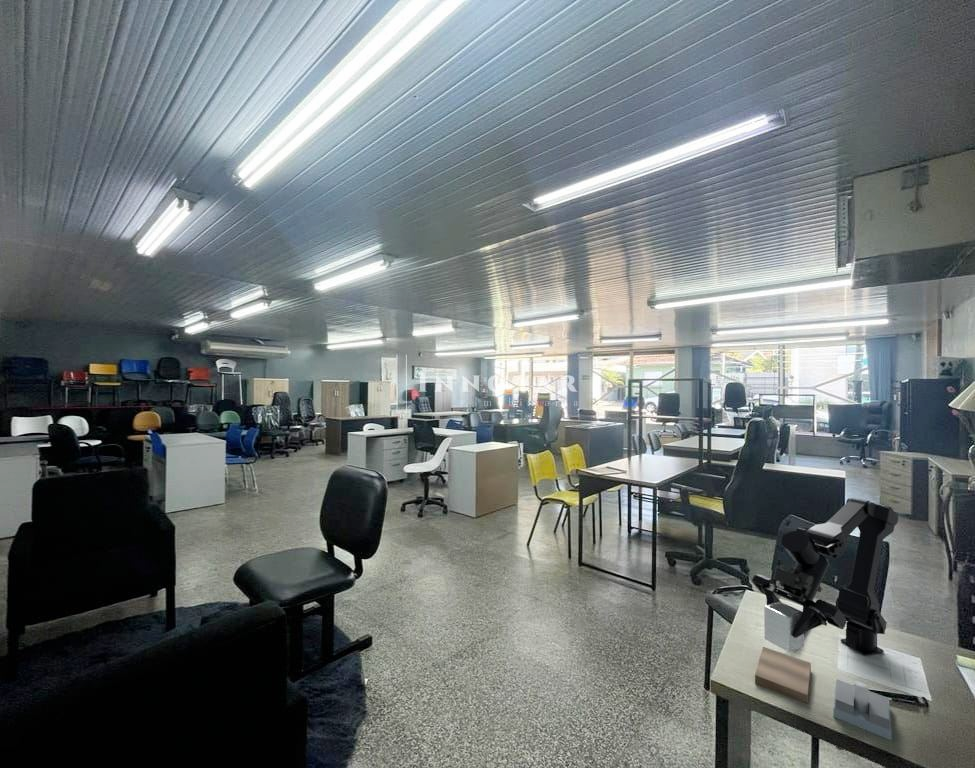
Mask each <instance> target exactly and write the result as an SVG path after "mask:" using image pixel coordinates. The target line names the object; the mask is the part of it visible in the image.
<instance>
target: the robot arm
mask: <svg viewBox="0 0 975 768" xmlns="http://www.w3.org/2000/svg"><path fill="white" fill-rule="evenodd" d="M898 523H899V515H898V513H897V512H896V511H895V510H894V508H893V507H891V506H886V505H883V504H882V505H881V504H876V503H875V502H871V501H870V500H867V499H863V498H859V497H858V498H857V497H849V498H847V499H846V502H845V504H844V505H843V506H842V507H841V508H840V509H839V510H838V511H837V512H836V513H835V514H834V515H833V516H832V517H831V518H830V519H829V520H827V521H826V522H825V523H818V524H815V525H813V526H811V527H810V528H808V529H807V530H806V529H804V528H800V527H797V528H796V530H794V531H793V530H792V531H789V532H787V533H785V534H784V535H782V537H781V544H782V546H783V548H784V550H785V551H786V552H787V553H788V555H789V556H790V557H791V558H792V560H793V561H794V562H795V563H796V564H795V566H794V567H793V568H792V567H789V568H788V570H786V569H783V568H782V567H781V568H780V567H778V566H775V570H774V573H773V575H772V576H773V578H770V577H768V576H765V575H762V574H760V573H755V574H754V575H753V576H752V578H751V580H750V582H751V583H752V584H753V585H754V586H755V588H756V589H757V590H758V591H759V592H760V593H761V594H763V595H765V597H766V605H769V604H772V603H775V602H778V601H780V602H782V601H781V600H780V598H781V597H782V598H784V599H786V600H789V601H791V602H793V603H795V604H798V606H799V605H800V606H801V607H802V612H803V613H802V616H801V617H800V619H799V621H798V623H797V625H796V627H795V628H794V631H793V634H792V636H793V637H794V638H797V637H799V636H800V635H802V634H804V635H805V633H808V632H809V631H811V630H812V629H815V628H817V627H818V628H819V627H820V626H824V627H825V626H828V624H829V625H831V626H833V627H836V628H837V629H841V630H844V629H845V638H841V639H840V642H841V643H843V644H844V645H846V646H848V647H850V648H851V649H853V650H855V651H857V652H858V653H860V654H862V655H863V656H872V655H876V654H882V653H884V649H882V648H881V647H879V646H878V635H879V634H880V635H885V634H886V629H887V621H886V620H885V618H884V616H882V614H881V612H880V602H879V600H878V599H877V597H876V594H875V585H876V580H877V574H878V570H879V563H880V559H881V553H882V547H883V542H884V540H885V539H886V538H887V537H888V536H890V535H891V534H892V533H893V532H894V530H895V527H896V525H897V524H898ZM855 529H858V530H859V537H858V541H857V546H856V553H855V557H854V563H853V566H852V572H851V578H850V582H849V584H848V585H846V586H844V587H843V586H842V587H840V588H839V590H838V595H837V598H836V600H835V605H834V604H832V603H830V602H828V601H825V600H823V599H821V598H819V599H817V600H816V601H814V598H815V597H816V594H817V593H818V592H819V593H822V589H823V588H822V587H821V584H822V582H823V580H824V577H825V576H826V573H827V572H830V573H831V572H832V570H833V569H832V566H831V564H830V560H829V559H827V558H826V557H825V556H828V557H831V558H834V559H838V558H839V557H841V556H842V555H843V554H844V553H845V550H846V548H847V543H846V540H847V538H848V537H849V536H850V535H851V533H853V532H854V530H855ZM774 581H777V582H779V585H780V586H781V587H779V586H778V585H777V584H776V583H775V582H774ZM782 587H783V588H782ZM845 627H846V628H845Z"/></svg>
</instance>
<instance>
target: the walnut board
mask: <svg viewBox="0 0 975 768" xmlns="http://www.w3.org/2000/svg"><path fill="white" fill-rule="evenodd" d="M811 664H812V663H811V662H809V661H807V660H804V659H801V658H798V657H796V656H792V655H790V654H786V653H783V652H780V651H777V650H773V649H771V648H768V647H765V646H762V650H761V653H760V657H759V660H758V663H757V666H756V671H755V674H754V684H756V685H759V686H760V687H764V688H766V689H769V690H770V691H774V692H776V693H779V694H782V695H784V696H786V697H789V698H791V699H794V700H797V701H800V702H803V703H805V704H808V703H809V701H808V700H809V692H810V681H811V671H812V670H811V669H812V665H811Z"/></svg>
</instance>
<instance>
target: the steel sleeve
mask: <svg viewBox="0 0 975 768" xmlns="http://www.w3.org/2000/svg"><path fill="white" fill-rule="evenodd" d="M780 601H781V600H780ZM780 601H778V602H775V603H772V604H769V605H767V604H766V605H764V606H763V609H764V611H763V612H764V640H765V641H768V642H770V643H771V644H773V645H775V646H777V647H778V648H780V649H782V650H784V651H786V652H787V653H792V652H794V651H795V650H799V649H801V648H803V647H805V633H804V634H802V635H800V636H799V637H797V638H794V637H793V636H792V634H793V631H794V628H795V627H796V625H797V623H798V621H799V619H800V617H801V616H802V613H803V610H802V611H801V610H800V609H797V608H796V607H793V606H791V605H788V604H786V603H785V602H782V601H781V602H780Z"/></svg>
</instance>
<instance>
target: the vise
mask: <svg viewBox="0 0 975 768" xmlns="http://www.w3.org/2000/svg"><path fill="white" fill-rule="evenodd" d="M834 686H835V687H834V696H833V698H834V699H833V709H832V710H833V718H835V719H838V720H840V721H843V722H845V723H847V724H850V725H853V726H855V727H858V728H860V729H862V730H865V731H868V732H870V733H872V734H875V735H877V736H880V737H881V738H884V739H887V740H889V741H893V739H892V737H893V736H892V735H893V734H892V733H893V732H892V719H891V706H890V699H889V698H888V696H884V695H882V694H878V693H876V692H874V691H871V690H870V687H869V686H868V685H867V684H865V683H863V682H860V681H854V682H853V684H851V683H849V682H846V681H843V680H840V679H836V680H835V685H834Z"/></svg>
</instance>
